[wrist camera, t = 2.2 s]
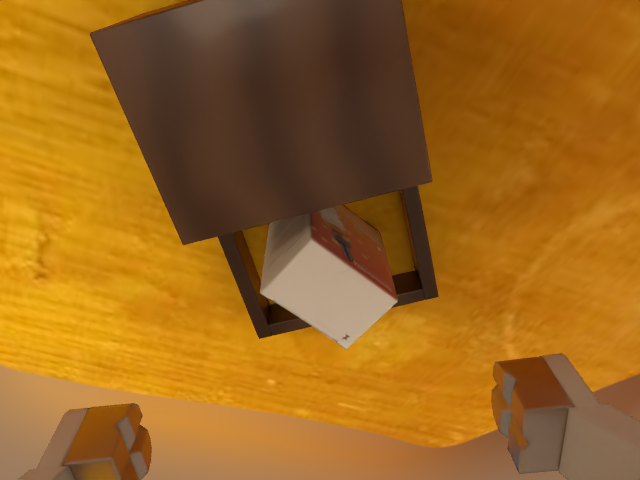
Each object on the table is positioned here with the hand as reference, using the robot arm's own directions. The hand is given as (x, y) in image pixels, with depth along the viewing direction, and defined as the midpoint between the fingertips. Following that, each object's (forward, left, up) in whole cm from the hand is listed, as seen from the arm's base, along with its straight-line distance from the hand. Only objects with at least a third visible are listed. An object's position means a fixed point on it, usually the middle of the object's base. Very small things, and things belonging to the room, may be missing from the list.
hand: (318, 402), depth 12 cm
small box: (+1, +11, -31) cm, 33 cm away
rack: (+1, +5, -31) cm, 32 cm away
